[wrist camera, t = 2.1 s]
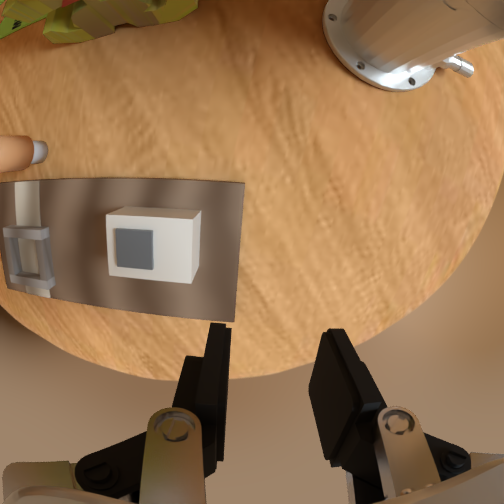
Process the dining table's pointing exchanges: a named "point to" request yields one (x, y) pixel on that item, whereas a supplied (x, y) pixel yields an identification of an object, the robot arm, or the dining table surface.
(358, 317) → the dining table surface
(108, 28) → the toy
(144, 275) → the block
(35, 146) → the tan rounded cylinder
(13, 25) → the door hanger
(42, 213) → the panel
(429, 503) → the robot arm
